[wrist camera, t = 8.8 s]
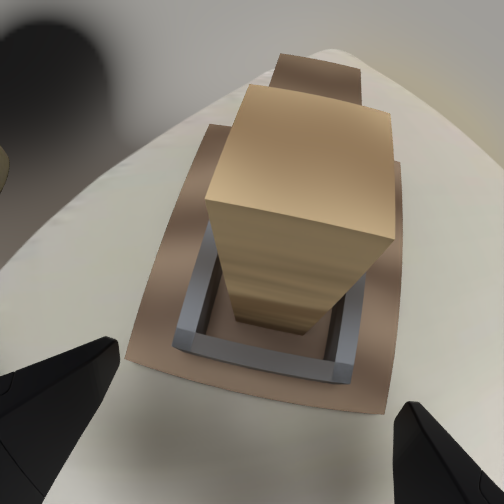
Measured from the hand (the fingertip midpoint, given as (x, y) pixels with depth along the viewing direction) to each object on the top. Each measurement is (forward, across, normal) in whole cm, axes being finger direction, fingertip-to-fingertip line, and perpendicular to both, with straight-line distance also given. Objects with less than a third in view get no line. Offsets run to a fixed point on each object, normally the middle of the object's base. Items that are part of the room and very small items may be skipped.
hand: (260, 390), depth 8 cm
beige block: (+10, 0, +2) cm, 11 cm away
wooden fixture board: (+14, 0, +1) cm, 14 cm away
